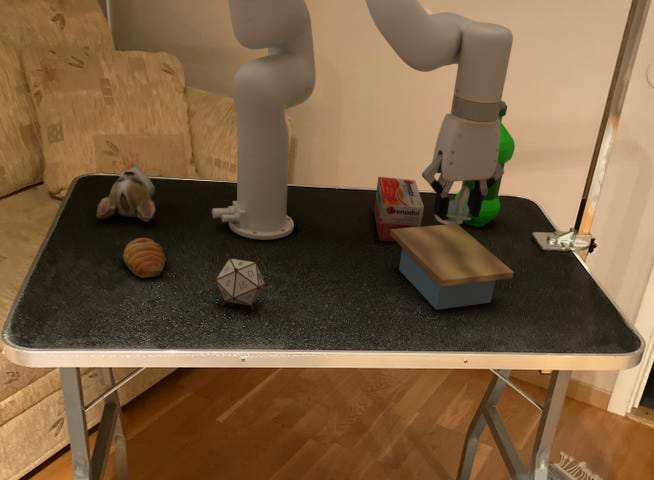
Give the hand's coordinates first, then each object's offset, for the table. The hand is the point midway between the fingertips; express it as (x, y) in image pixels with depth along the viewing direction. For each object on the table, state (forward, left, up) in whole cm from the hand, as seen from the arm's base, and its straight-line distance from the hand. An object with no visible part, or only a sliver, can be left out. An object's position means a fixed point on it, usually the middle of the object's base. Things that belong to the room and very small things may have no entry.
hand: (456, 214), depth 128 cm
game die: (-37, +2, -14) cm, 40 cm away
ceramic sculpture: (-48, +40, -14) cm, 64 cm away
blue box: (0, 0, -14) cm, 14 cm away
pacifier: (-1, 0, -1) cm, 1 cm away
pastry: (-49, +18, -14) cm, 54 cm away
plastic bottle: (+21, +25, -14) cm, 36 cm away
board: (0, 0, -8) cm, 8 cm away
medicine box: (+2, +25, -14) cm, 29 cm away
